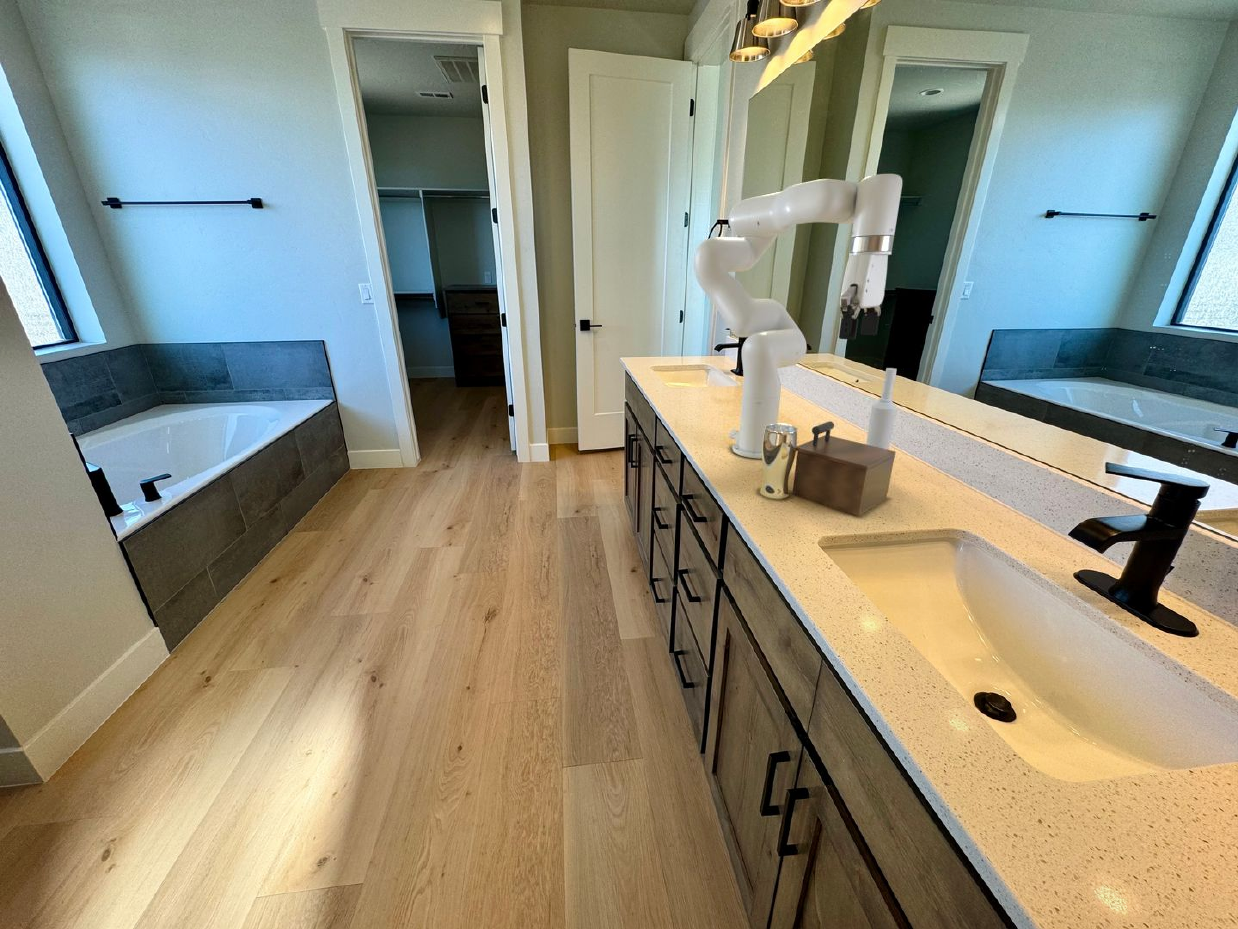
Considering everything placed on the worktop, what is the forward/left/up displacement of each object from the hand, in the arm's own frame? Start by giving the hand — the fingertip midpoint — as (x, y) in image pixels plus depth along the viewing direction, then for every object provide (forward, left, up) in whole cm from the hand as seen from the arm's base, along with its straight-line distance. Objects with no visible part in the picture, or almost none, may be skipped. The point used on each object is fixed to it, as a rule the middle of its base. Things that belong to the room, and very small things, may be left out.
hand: (857, 336), depth 102 cm
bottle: (+4, +10, -33) cm, 34 cm away
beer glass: (-5, -17, -33) cm, 37 cm away
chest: (+5, -8, -33) cm, 34 cm away
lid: (+5, -8, -23) cm, 24 cm away
